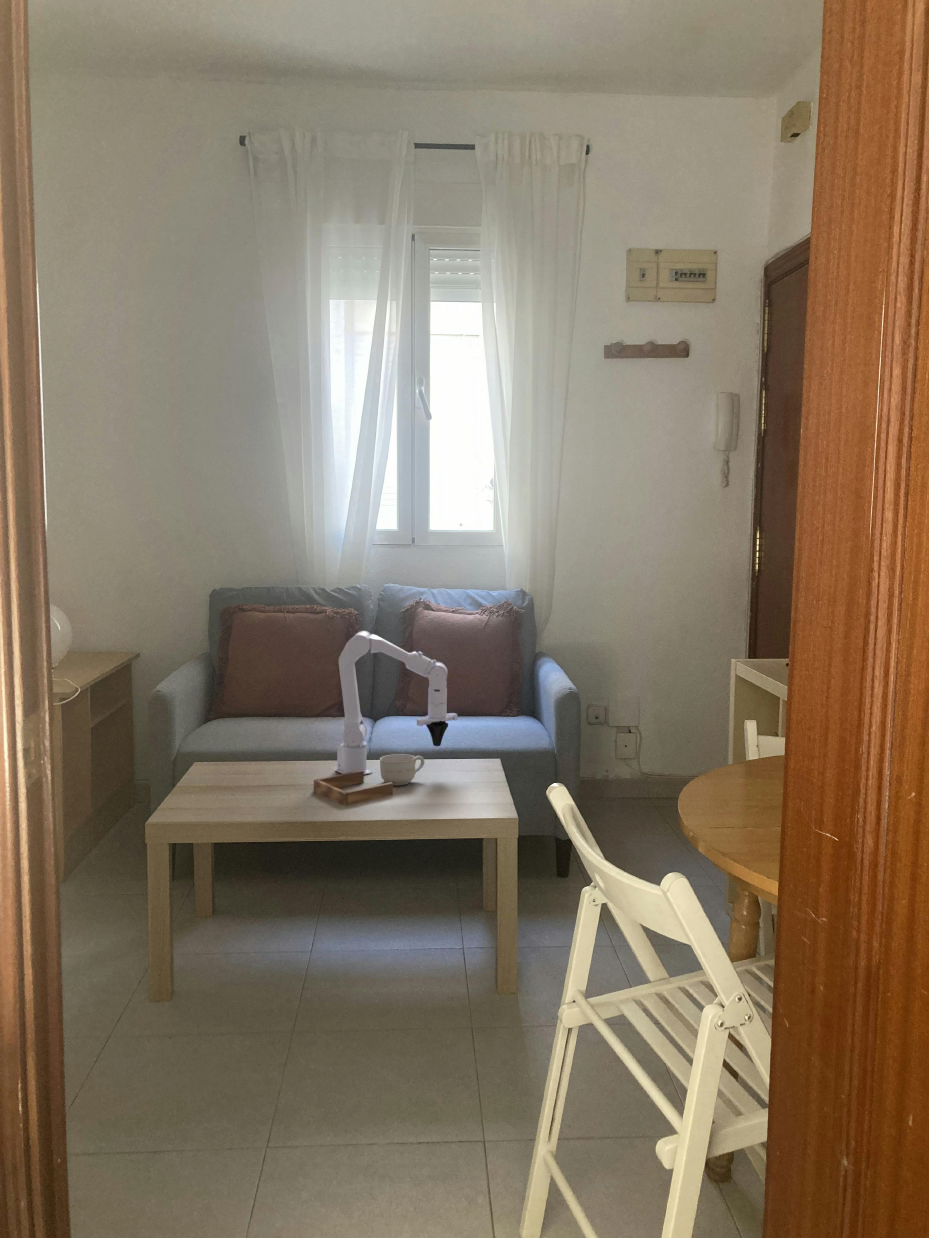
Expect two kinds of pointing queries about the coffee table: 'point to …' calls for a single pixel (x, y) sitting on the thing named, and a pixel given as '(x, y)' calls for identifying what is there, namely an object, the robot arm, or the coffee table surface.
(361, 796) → the cradle
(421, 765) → the teacup
